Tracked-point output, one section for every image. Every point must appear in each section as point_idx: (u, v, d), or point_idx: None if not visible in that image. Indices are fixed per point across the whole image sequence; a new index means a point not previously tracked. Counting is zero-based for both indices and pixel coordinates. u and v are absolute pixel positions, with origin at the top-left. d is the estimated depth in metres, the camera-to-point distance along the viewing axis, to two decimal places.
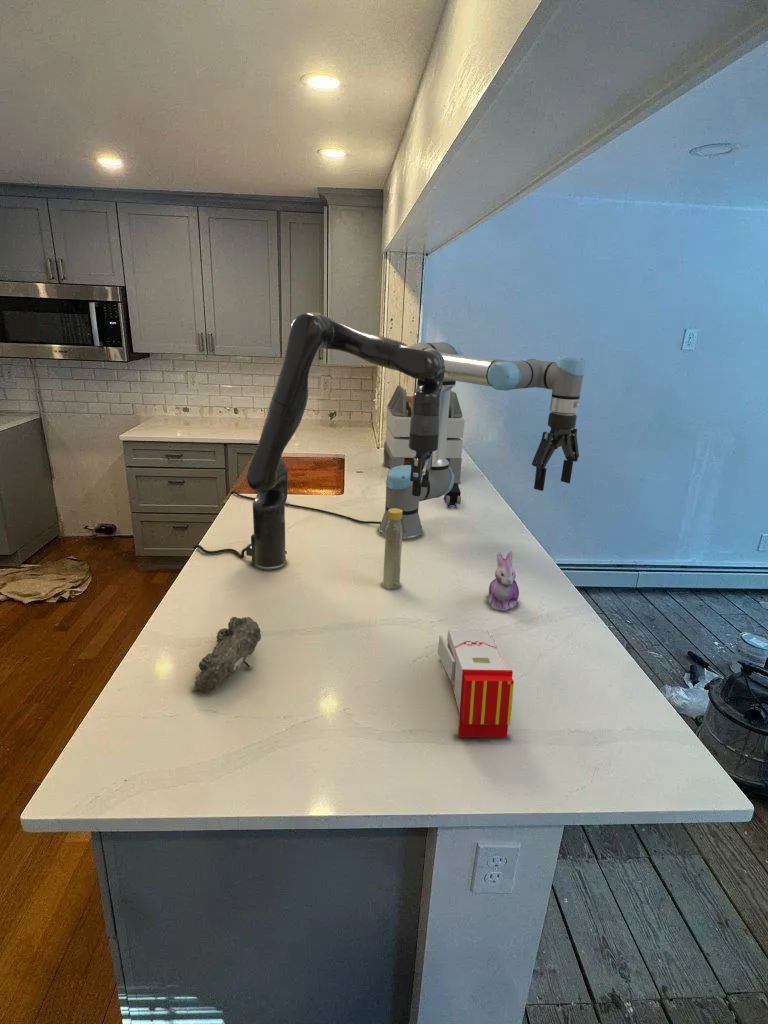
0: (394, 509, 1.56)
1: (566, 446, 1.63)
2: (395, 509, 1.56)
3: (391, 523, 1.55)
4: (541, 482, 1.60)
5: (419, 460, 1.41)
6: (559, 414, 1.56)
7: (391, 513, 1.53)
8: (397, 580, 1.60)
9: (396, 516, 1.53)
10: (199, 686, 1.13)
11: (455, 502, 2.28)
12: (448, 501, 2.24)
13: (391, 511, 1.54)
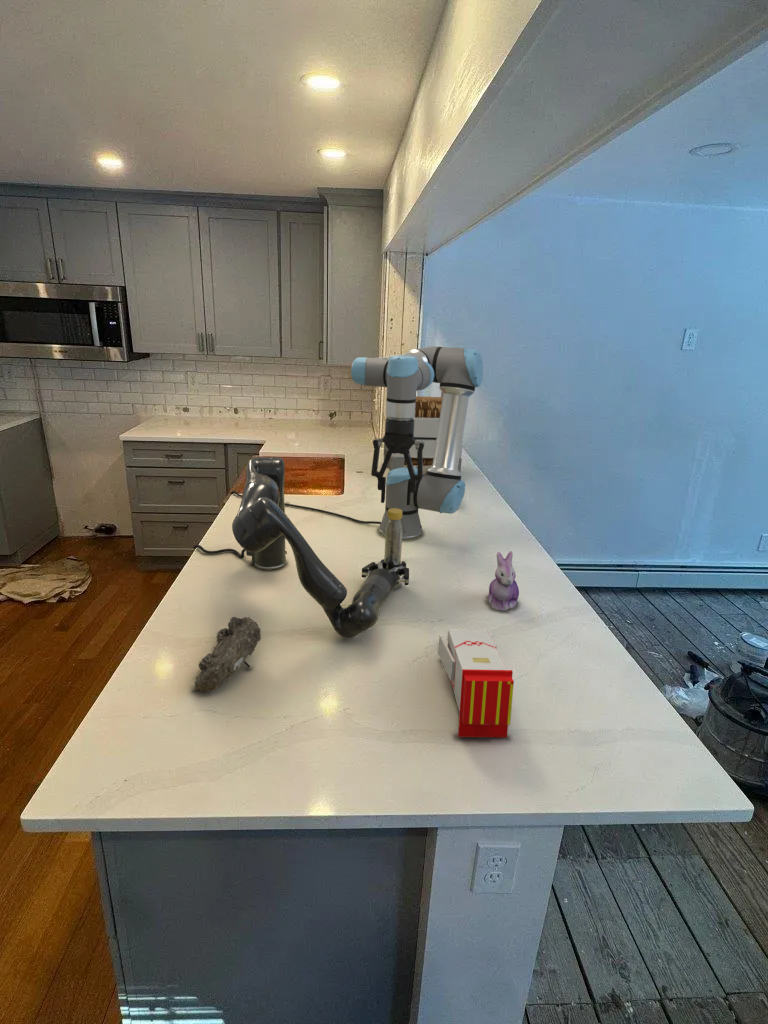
0: (394, 509, 1.56)
1: None
2: (395, 509, 1.56)
3: (391, 523, 1.55)
4: (410, 494, 1.54)
5: None
6: None
7: (391, 513, 1.53)
8: None
9: (396, 516, 1.53)
10: (199, 686, 1.13)
11: None
12: None
13: (391, 511, 1.54)
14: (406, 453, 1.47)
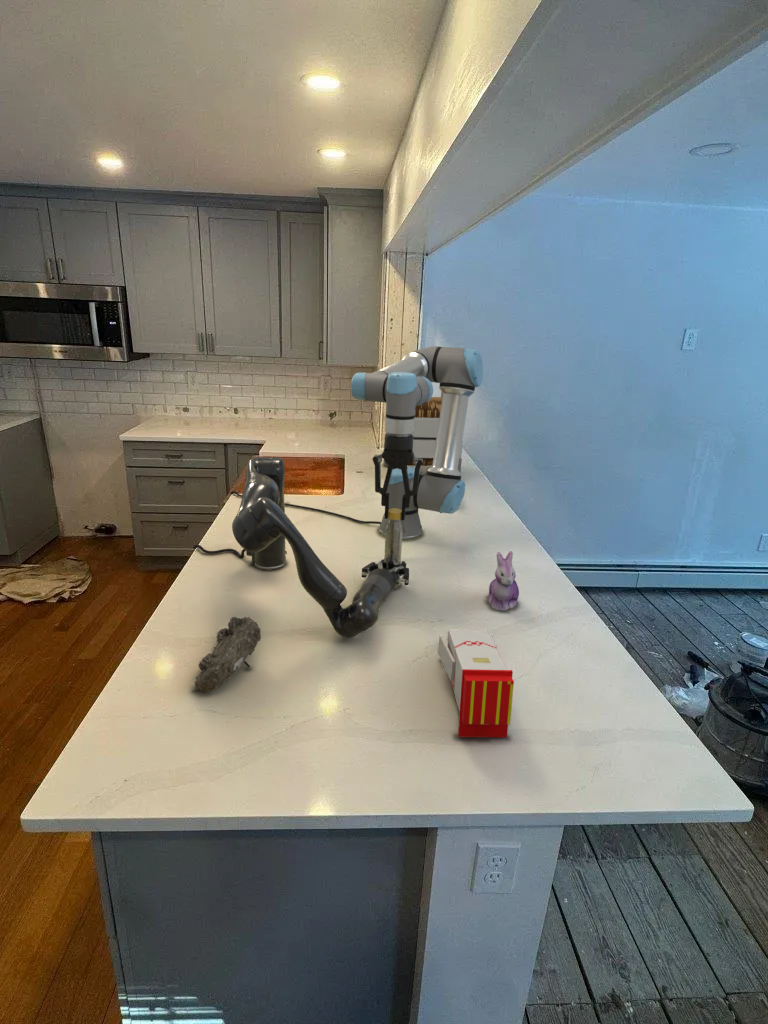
0: (394, 509, 1.56)
1: None
2: (395, 509, 1.56)
3: (391, 523, 1.55)
4: None
5: None
6: None
7: (391, 513, 1.53)
8: None
9: (396, 516, 1.53)
10: (199, 686, 1.13)
11: None
12: None
13: (391, 511, 1.54)
14: (404, 469, 1.49)
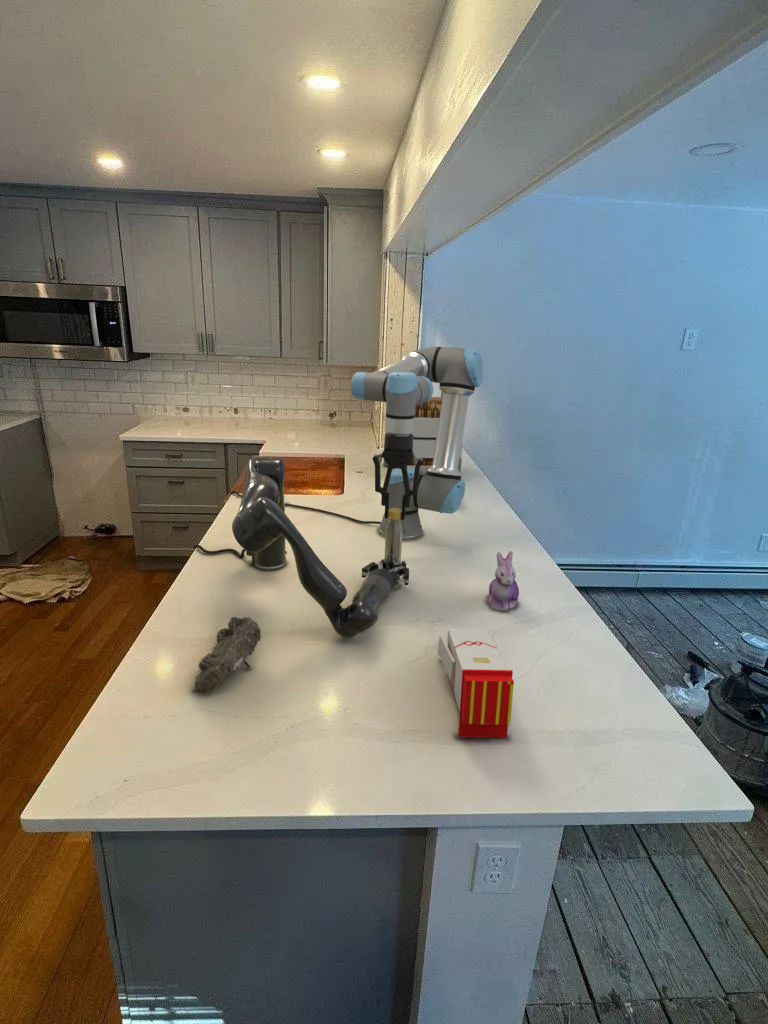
0: (392, 510, 1.54)
1: (392, 470, 1.52)
2: (391, 510, 1.55)
3: (391, 523, 1.55)
4: None
5: None
6: None
7: (401, 511, 1.55)
8: None
9: None
10: (199, 686, 1.13)
11: None
12: None
13: (399, 511, 1.54)
14: (404, 468, 1.49)
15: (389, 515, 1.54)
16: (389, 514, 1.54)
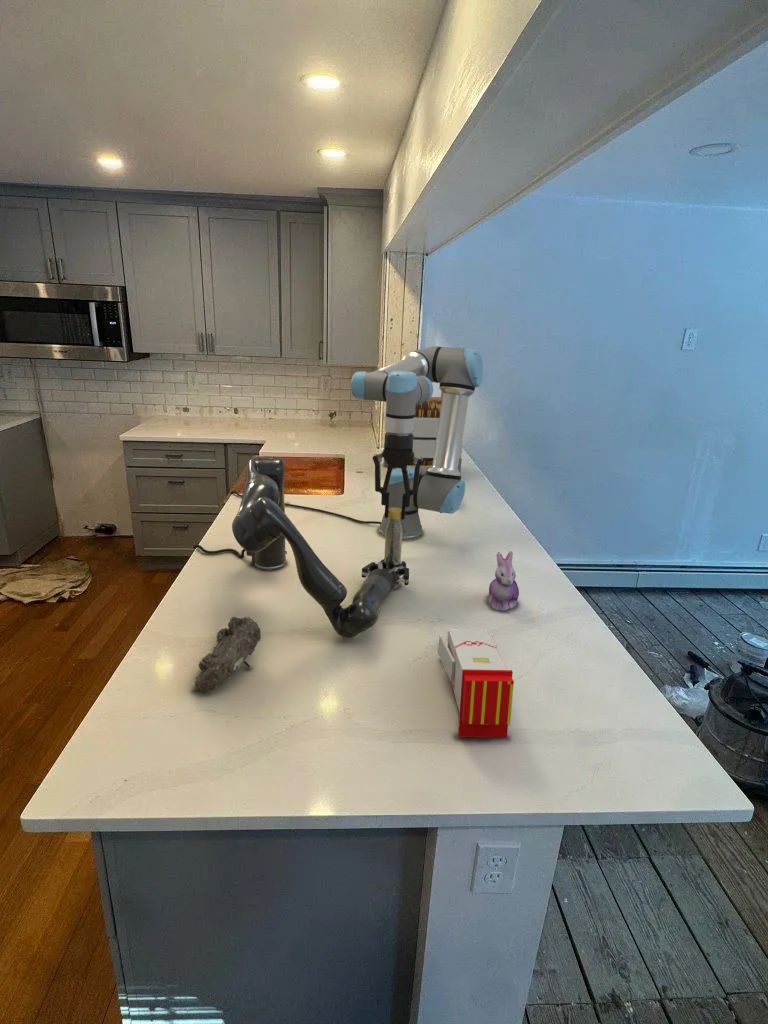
0: (397, 510, 1.54)
1: None
2: (397, 510, 1.54)
3: (391, 523, 1.55)
4: None
5: None
6: None
7: None
8: None
9: None
10: (199, 686, 1.13)
11: None
12: None
13: (395, 508, 1.56)
14: (404, 468, 1.49)
15: (401, 515, 1.54)
16: (401, 514, 1.54)
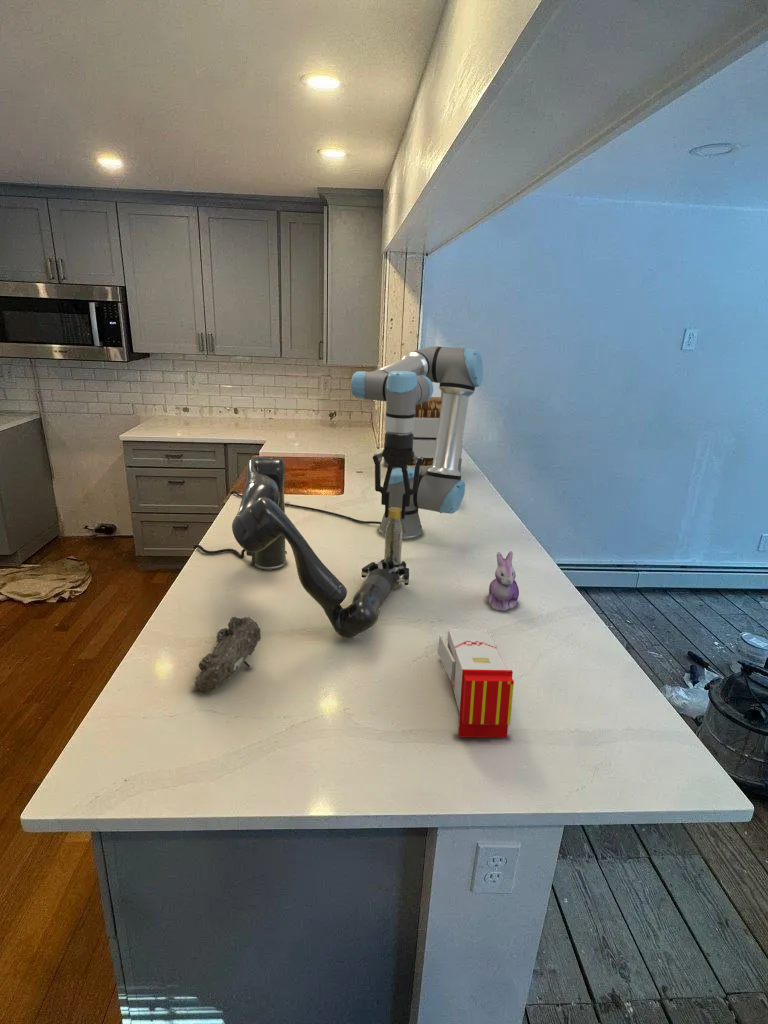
0: (395, 508, 1.56)
1: None
2: (396, 508, 1.55)
3: (391, 523, 1.55)
4: None
5: None
6: None
7: (389, 511, 1.54)
8: None
9: (393, 515, 1.53)
10: (199, 686, 1.13)
11: None
12: None
13: (390, 509, 1.54)
14: (404, 467, 1.49)
15: None
16: None
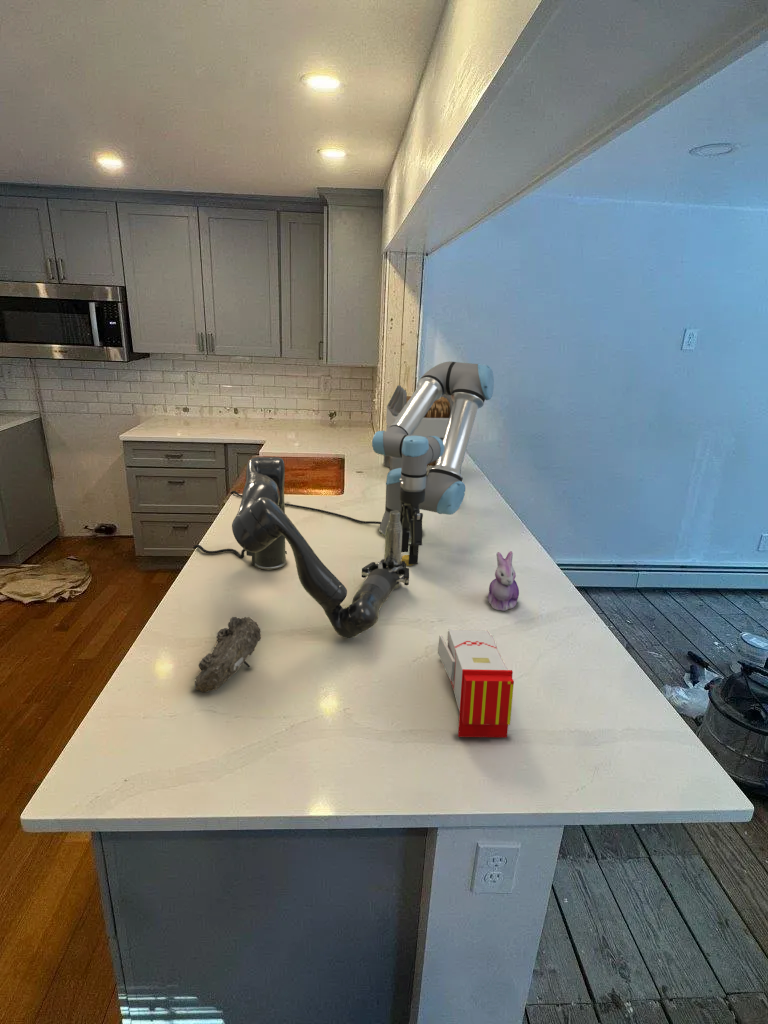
0: (405, 557, 1.76)
1: None
2: (405, 557, 1.77)
3: (391, 523, 1.55)
4: None
5: None
6: None
7: None
8: None
9: None
10: (199, 686, 1.13)
11: None
12: None
13: None
14: None
15: None
16: (402, 560, 1.76)
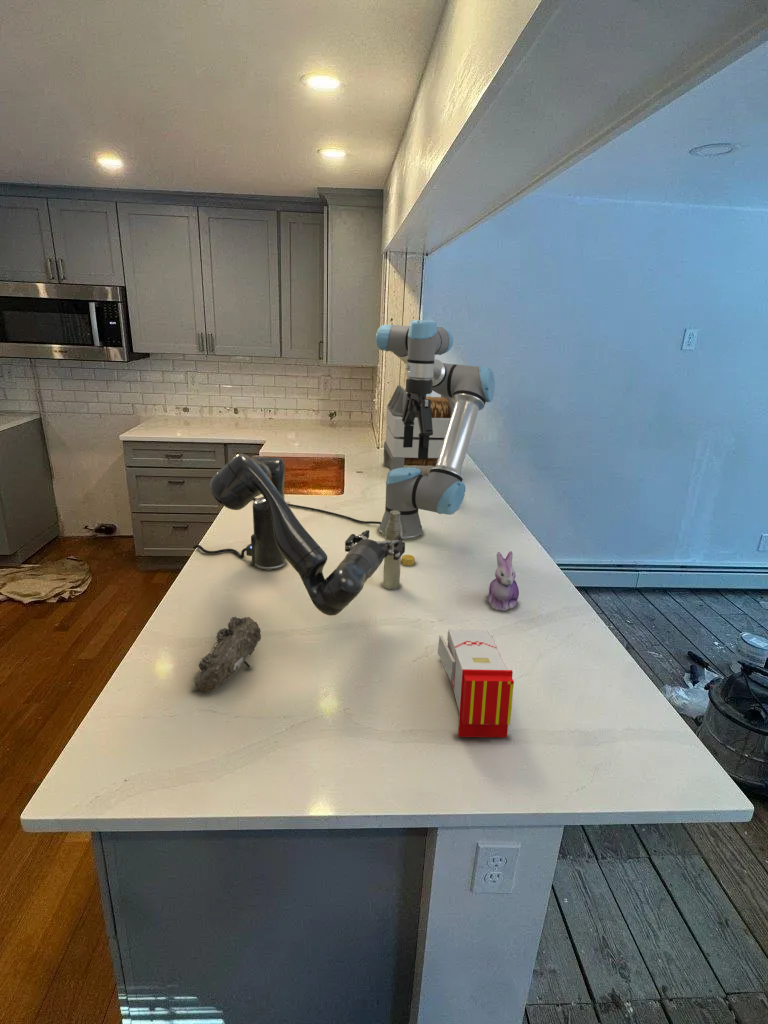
0: (405, 557, 1.76)
1: None
2: (405, 557, 1.77)
3: (391, 523, 1.55)
4: None
5: (345, 549, 1.39)
6: None
7: (413, 559, 1.76)
8: (397, 580, 1.60)
9: None
10: (199, 686, 1.13)
11: None
12: None
13: (411, 558, 1.76)
14: None
15: (402, 561, 1.76)
16: (402, 560, 1.76)
